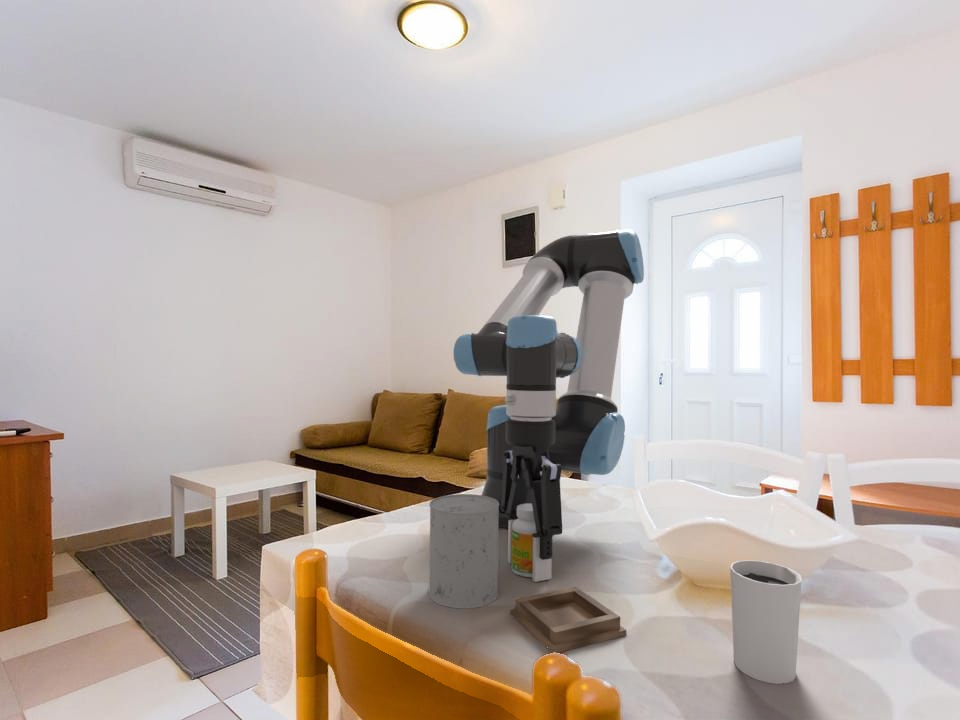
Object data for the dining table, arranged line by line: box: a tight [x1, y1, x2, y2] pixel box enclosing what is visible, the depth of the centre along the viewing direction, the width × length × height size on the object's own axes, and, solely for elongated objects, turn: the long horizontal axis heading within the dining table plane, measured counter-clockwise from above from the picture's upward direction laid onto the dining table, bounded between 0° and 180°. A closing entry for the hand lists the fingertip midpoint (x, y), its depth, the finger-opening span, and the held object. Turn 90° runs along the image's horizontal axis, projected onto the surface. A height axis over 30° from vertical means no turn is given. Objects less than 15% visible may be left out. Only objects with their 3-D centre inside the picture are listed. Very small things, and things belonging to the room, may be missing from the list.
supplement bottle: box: [511, 504, 537, 578], centre depth 81 cm, size 5×5×10 cm
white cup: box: [729, 559, 803, 685], centre depth 56 cm, size 7×7×10 cm
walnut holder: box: [509, 586, 627, 654], centre depth 65 cm, size 10×10×2 cm
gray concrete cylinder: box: [428, 493, 499, 610], centre depth 73 cm, size 10×10×12 cm
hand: (528, 569), depth 81 cm, fingers open, 7 cm apart
